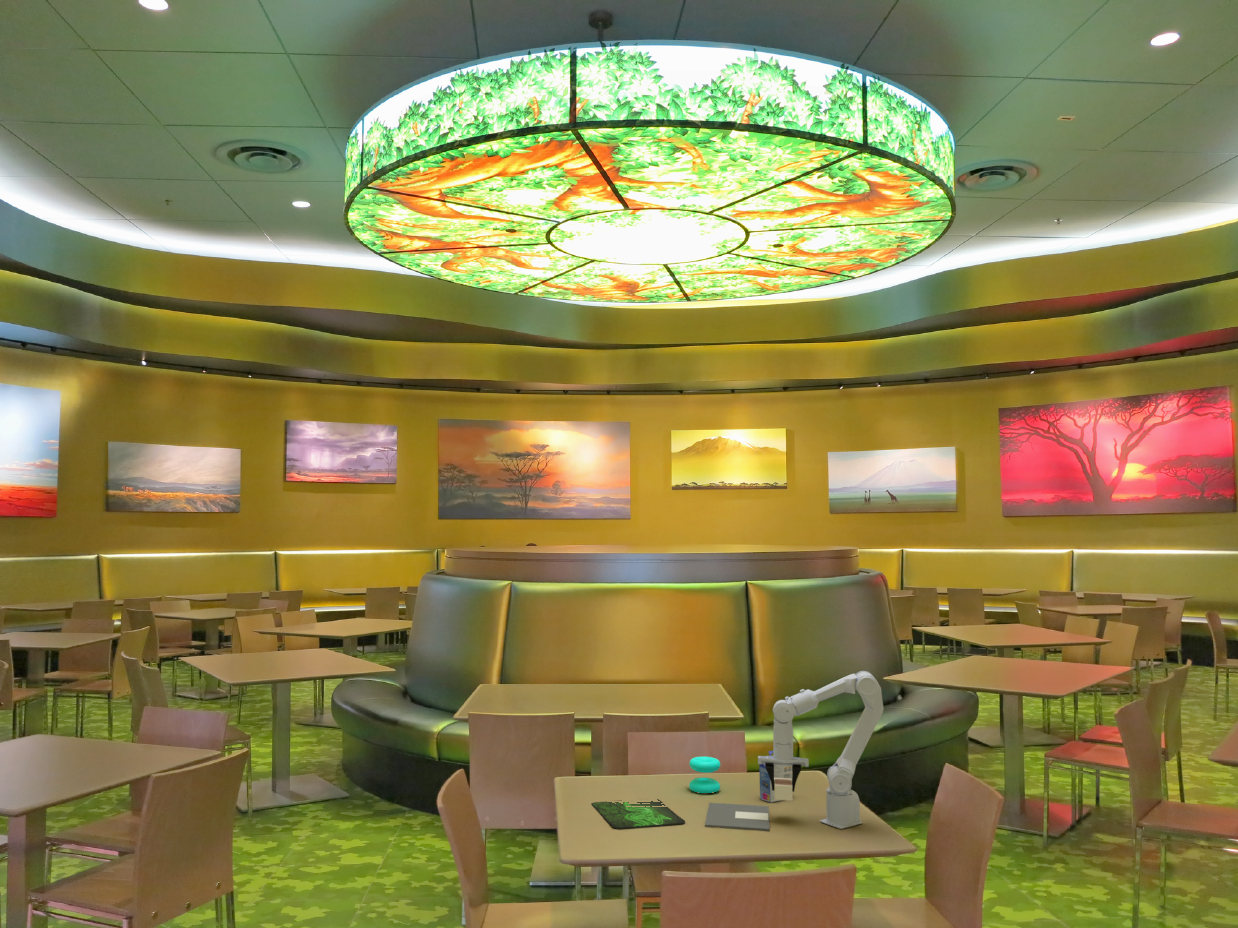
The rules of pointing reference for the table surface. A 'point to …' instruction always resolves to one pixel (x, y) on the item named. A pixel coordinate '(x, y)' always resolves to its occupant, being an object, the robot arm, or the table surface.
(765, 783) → the ink cartridge box
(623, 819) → the mouse mat
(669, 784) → the table surface
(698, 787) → the donuts
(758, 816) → the mat
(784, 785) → the card deck
